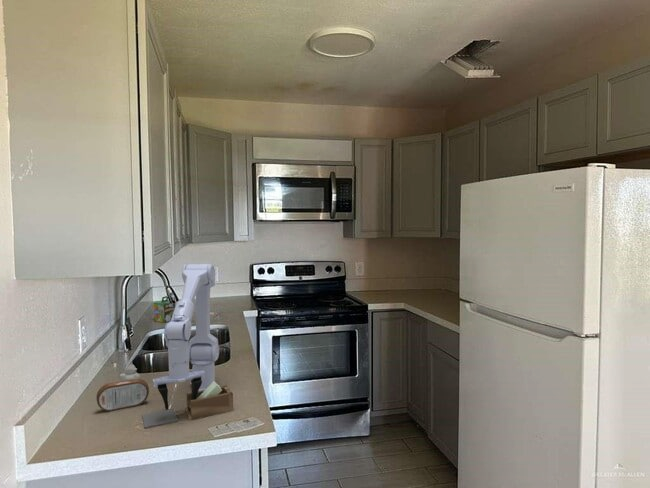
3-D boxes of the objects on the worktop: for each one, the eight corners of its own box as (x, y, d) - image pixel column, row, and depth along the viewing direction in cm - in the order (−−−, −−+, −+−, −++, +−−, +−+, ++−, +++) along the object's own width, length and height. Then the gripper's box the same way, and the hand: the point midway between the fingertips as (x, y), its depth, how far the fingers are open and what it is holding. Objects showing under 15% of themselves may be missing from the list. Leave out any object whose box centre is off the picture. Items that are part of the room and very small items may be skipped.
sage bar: (194, 410, 130) (189, 406, 129) (219, 385, 133) (213, 380, 133) (197, 416, 127) (192, 411, 126) (222, 390, 130) (217, 385, 129)
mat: (142, 415, 127) (142, 414, 127) (173, 409, 131) (173, 408, 131) (144, 428, 119) (144, 427, 119) (178, 421, 124) (178, 419, 123)
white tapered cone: (138, 385, 152) (137, 363, 151) (118, 387, 150) (117, 365, 149) (141, 379, 157) (140, 358, 156) (121, 381, 155) (120, 360, 155)
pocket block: (184, 410, 130) (184, 393, 130) (226, 401, 136) (226, 385, 136) (189, 420, 124) (188, 402, 124) (233, 410, 130) (232, 393, 130)
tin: (149, 400, 138) (148, 375, 138) (150, 404, 136) (149, 378, 135) (97, 410, 131) (95, 384, 131) (96, 414, 128) (95, 387, 128)
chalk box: (165, 318, 258) (164, 294, 258) (176, 319, 254) (175, 295, 253) (153, 321, 250) (152, 296, 249) (164, 323, 246) (163, 298, 245)
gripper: (154, 369, 118) (155, 416, 119) (206, 360, 125) (207, 405, 126) (151, 362, 125) (153, 407, 125) (201, 354, 131) (202, 397, 132)
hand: (180, 405), depth 126 cm, fingers open, 7 cm apart
